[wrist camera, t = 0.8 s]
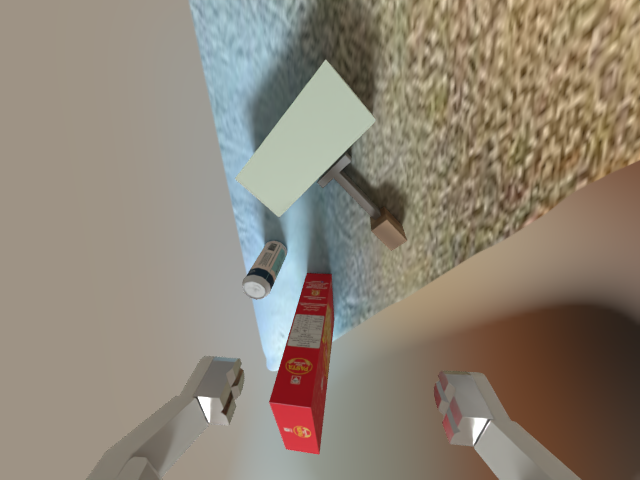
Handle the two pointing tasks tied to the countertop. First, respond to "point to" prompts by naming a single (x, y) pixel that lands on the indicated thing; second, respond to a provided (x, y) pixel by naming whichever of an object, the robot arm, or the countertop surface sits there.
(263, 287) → the beer can
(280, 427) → the food packaging
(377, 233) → the scraper
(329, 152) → the pale green bridge
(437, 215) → the countertop surface
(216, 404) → the robot arm
